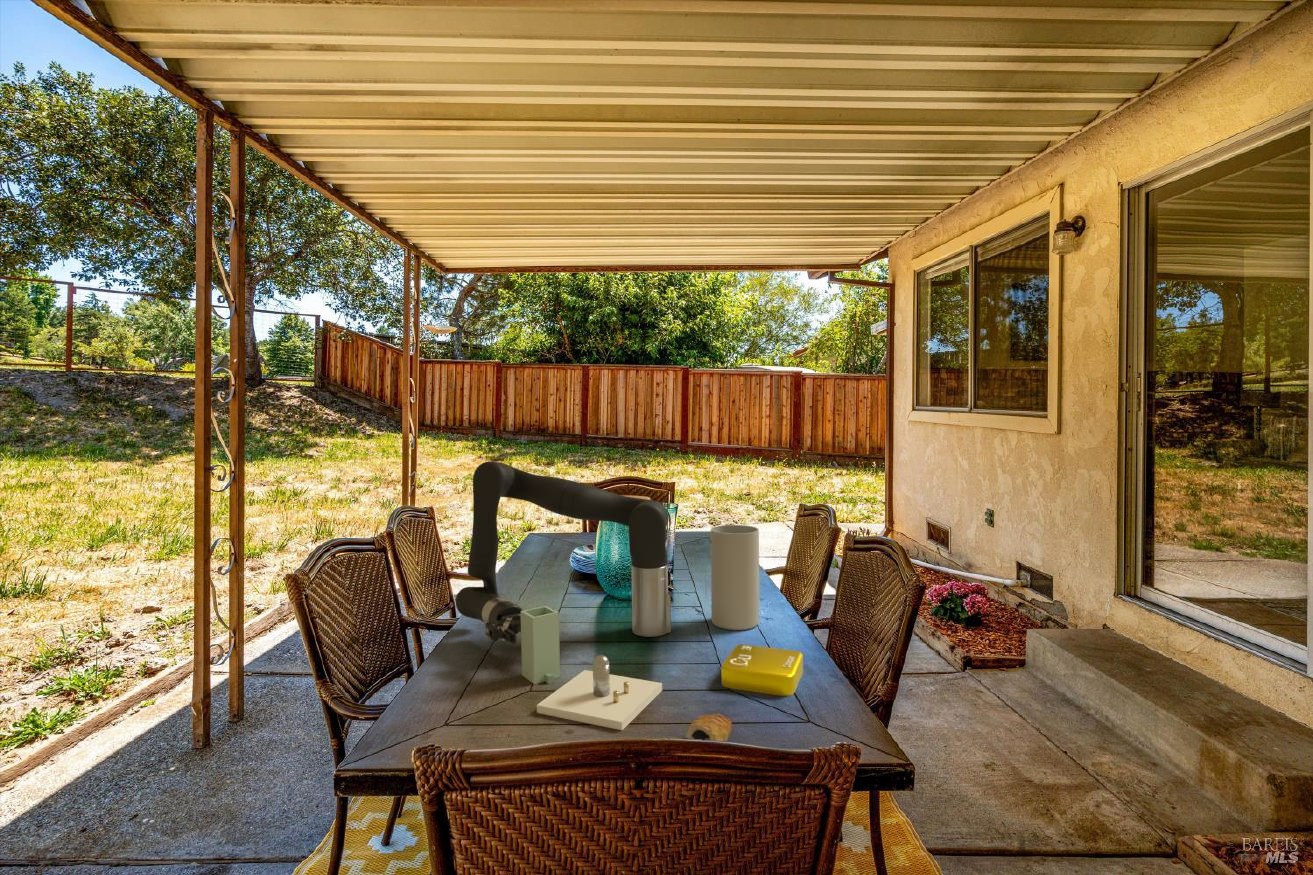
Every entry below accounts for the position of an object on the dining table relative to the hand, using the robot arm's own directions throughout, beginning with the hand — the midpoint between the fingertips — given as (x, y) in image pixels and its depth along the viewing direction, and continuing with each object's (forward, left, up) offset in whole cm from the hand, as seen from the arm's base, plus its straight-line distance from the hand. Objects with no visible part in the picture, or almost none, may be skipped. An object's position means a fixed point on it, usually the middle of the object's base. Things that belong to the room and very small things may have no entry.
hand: (532, 634), depth 146 cm
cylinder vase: (-54, -16, -8) cm, 57 cm away
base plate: (-11, +19, -8) cm, 24 cm away
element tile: (-46, +19, -9) cm, 50 cm away
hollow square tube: (-1, +3, -8) cm, 9 cm away
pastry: (-26, +39, -9) cm, 48 cm away
